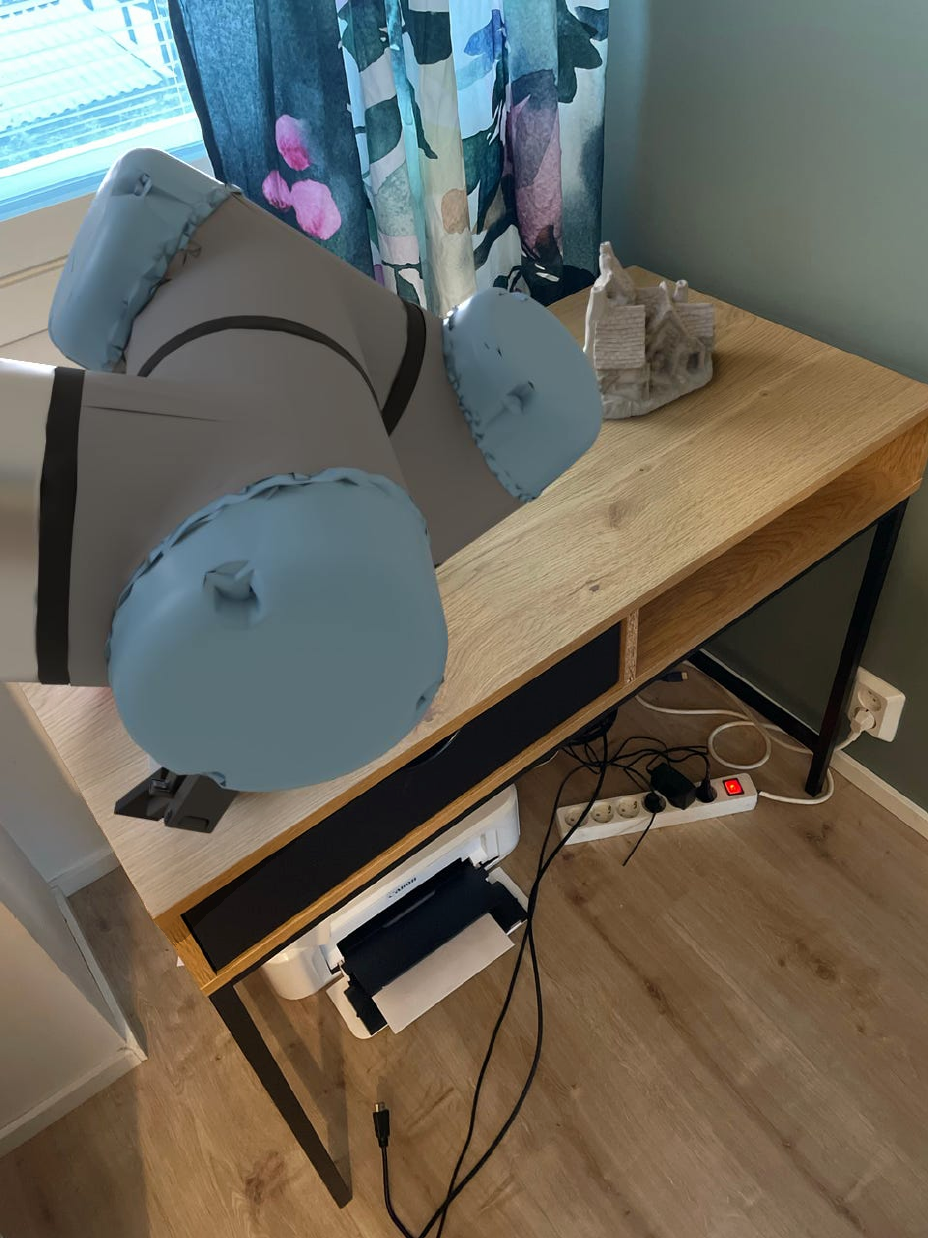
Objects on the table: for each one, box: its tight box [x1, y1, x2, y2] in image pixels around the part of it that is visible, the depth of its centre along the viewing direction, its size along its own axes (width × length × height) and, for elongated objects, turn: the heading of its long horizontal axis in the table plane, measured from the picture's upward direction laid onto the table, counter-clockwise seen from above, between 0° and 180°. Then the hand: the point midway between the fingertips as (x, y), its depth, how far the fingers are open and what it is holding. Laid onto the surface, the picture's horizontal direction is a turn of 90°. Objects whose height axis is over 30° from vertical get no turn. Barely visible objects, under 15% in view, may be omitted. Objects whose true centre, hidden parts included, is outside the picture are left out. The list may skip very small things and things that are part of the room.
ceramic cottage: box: [582, 241, 717, 420], centre depth 98 cm, size 16×16×15 cm
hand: (150, 709), depth 57 cm, fingers open, 13 cm apart
